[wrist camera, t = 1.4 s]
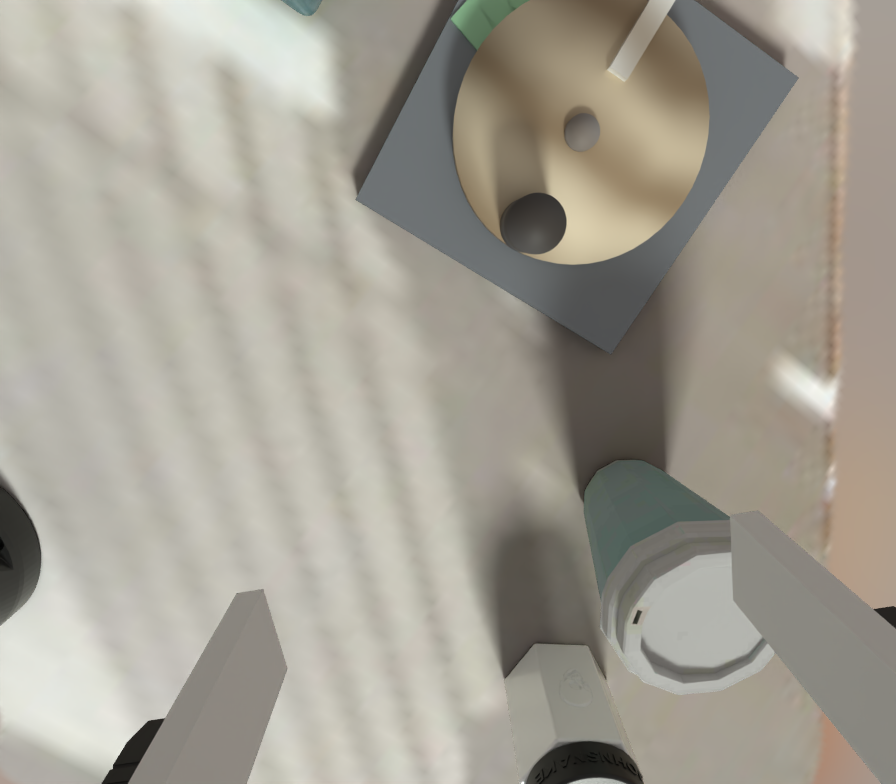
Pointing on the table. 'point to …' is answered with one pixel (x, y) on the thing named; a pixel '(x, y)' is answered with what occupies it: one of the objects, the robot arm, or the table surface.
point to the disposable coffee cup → (668, 582)
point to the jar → (567, 720)
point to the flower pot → (304, 6)
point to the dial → (580, 127)
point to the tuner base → (536, 281)
